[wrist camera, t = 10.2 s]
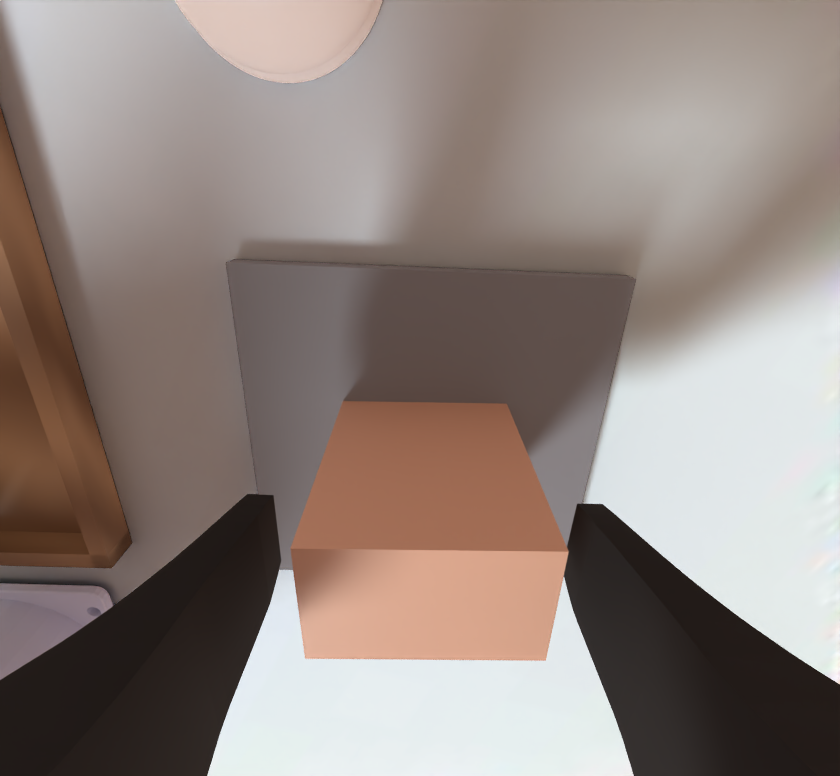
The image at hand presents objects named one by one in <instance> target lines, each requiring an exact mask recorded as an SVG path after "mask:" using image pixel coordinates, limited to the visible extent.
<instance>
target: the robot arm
mask: <svg viewBox="0 0 840 776" xmlns="http://www.w3.org/2000/svg"><path fill="white" fill-rule="evenodd" d="M567 549H568V551H569V553H568V557H567V562H566V567H565V571H564V577H565V581H566V585H567V590H568V593H569V597H570V601H571V604H572V608H573V611H574V614H575V616H576V619H577V622H578V624H579V627H580V629H581V632H582V635H583V637H584V640H585V642H586V645H587V647H588V650H589V652H590V655H591V657H592V660H593V662H594V665H595V667H596V670H597V673H598V675H599V678H600V680H601V683H602V685H603V688H604V690H605V693H606V695H607V698H608V700H609V703H610V705H611V708H612V710H613V713H614V716H615V718H616V721H617V724H618V727H619V730H620V732H621V735H622V738H623V741H624V744H625V748H626V751H627V754H628V758H629V761H630V764H631V768H632V771H633V774H634V776H840V684H838V683H836V682H835V681H833V680H832V679H830V678H828V677H827V676H825V675H823V674H822V673H820V672H819V671H817V670H816V669H814V668H812V667H811V666H809V665H808V664H806V663H805V662H803V661H802V660H800V659H799V658H797V657H796V656H794V655H793V654H791V653H790V652H788V651H787V650H785V649H784V648H782V647H781V646H779V645H778V644H777V643H775V642H774V641H772V640H771V639H769V638H768V637H766V636H765V635H764V634H762V633H761V632H759V631H758V630H756V629H755V628H753V627H752V626H751V625H749V624H748V623H747V622H745V621H744V620H742V619H741V618H740V617H738V616H737V615H736V614H734V613H733V612H732V611H730V610H729V609H728V608H726V607H725V606H724V605H723V604H721V603H720V602H719V601H717V600H716V599H715V598H713V597H712V596H711V595H710V594H708V593H707V592H706V591H704V590H703V589H702V588H701V587H699V586H698V585H697V584H696V583H694V582H693V581H692V580H691V579H689V578H688V577H687V576H686V575H685V574H683V573H682V572H681V571H680V570H679V569H677V568H676V567H675V566H674V565H673V564H671V563H670V562H669V561H668V560H667V559H666V558H664V557H663V556H662V555H661V554H660V553H659V552H657V551H656V550H655V549H654V548H653V547H652V546H650V545H649V544H648V543H647V542H646V541H645V540H644V539H642V538H641V537H640V536H639V535H638V534H637V533H636V532H634V531H633V530H632V529H631V528H630V527H629V526H628V525H626V524H625V523H624V522H623V521H622V520H621V519H620V518H618V517H617V516H616V515H615V514H614V513H612V512H611V511H610V510H609V509H608V508H606V507H605V506H604V505H603V504H577V506H576V510H575V515H574V519H573V523H572V527H571V532H570V536H569V540H568V544H567ZM280 564H281V553H280V545H279V537H278V528H277V520H276V512H275V503H274V495H258V494H247V495H246V496H245V497H244V498H243V499H241V500H240V501H239V502H238V503H237V504H236V505H235V506H233V507H232V508H231V509H230V510H229V511H228V512H227V513H226V514H224V515H223V516H222V517H221V518H220V519H219V520H218V521H217V522H215V523H214V524H213V525H212V526H211V527H210V528H209V529H208V530H206V531H205V532H204V533H203V534H202V535H201V536H200V537H199V538H197V539H196V540H195V541H194V542H193V543H192V544H190V545H189V546H188V547H187V548H186V549H185V550H183V551H182V552H181V553H180V554H179V555H178V556H176V557H175V558H174V559H173V560H172V561H171V562H169V563H168V564H167V565H166V566H164V567H163V568H162V569H161V570H159V571H158V572H157V573H156V574H154V575H153V576H152V577H150V578H149V579H148V580H147V581H145V582H144V583H143V584H142V585H140V586H139V587H138V588H137V589H135V590H134V591H133V592H132V593H130V594H129V595H128V596H126V597H125V598H124V599H122V600H121V601H120V602H118V603H117V604H115V605H114V606H113V604H112V601H111V598H110V595H109V593H108V592H107V591H106V590H105V589H104V588H101V587H99V586H83V585H44V584H4V583H0V776H207V774H208V771H209V767H210V764H211V761H212V758H213V754H214V751H215V748H216V744H217V741H218V738H219V734H220V731H221V729H222V726H223V723H224V720H225V717H226V715H227V712H228V709H229V706H230V704H231V701H232V699H233V696H234V694H235V691H236V689H237V686H238V683H239V681H240V678H241V676H242V673H243V671H244V668H245V666H246V663H247V661H248V658H249V656H250V653H251V651H252V648H253V646H254V643H255V641H256V638H257V636H258V633H259V630H260V628H261V625H262V623H263V620H264V618H265V615H266V612H267V610H268V607H269V605H270V601H271V598H272V594H273V591H274V587H275V583H276V580H277V576H278V572H279V568H280Z"/></svg>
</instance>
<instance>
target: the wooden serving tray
mask: <svg viewBox="0 0 840 776" xmlns="http://www.w3.org/2000/svg"><path fill="white" fill-rule="evenodd" d="M131 544H132V541H131V537H130V534H129V531H128V527H127V524H126V521H125V518H124V514H123V511H122V508H121V504H120V501H119V498H118V494H117V491H116V488H115V484H114V481H113V478H112V475H111V471H110V468H109V465H108V461H107V458H106V455H105V451H104V448H103V445H102V441H101V438H100V435H99V432H98V428H97V425H96V422H95V418H94V415H93V412H92V408H91V405H90V402H89V398H88V395H87V392H86V389H85V385H84V382H83V379H82V375H81V372H80V369H79V365H78V362H77V359H76V356H75V352H74V349H73V346H72V342H71V339H70V336H69V332H68V329H67V326H66V322H65V319H64V316H63V313H62V309H61V306H60V303H59V299H58V296H57V293H56V289H55V286H54V283H53V279H52V276H51V273H50V270H49V266H48V263H47V260H46V256H45V253H44V250H43V246H42V243H41V240H40V236H39V233H38V230H37V227H36V223H35V220H34V217H33V213H32V210H31V207H30V203H29V200H28V197H27V193H26V190H25V187H24V184H23V180H22V177H21V174H20V170H19V167H18V164H17V160H16V157H15V154H14V150H13V147H12V144H11V141H10V137H9V134H8V131H7V127H6V124H5V121H4V117H3V114H2V111H1V108H0V565H6V566H44V567H83V568H112V567H113V566H114V565H115V564H116V562H117V561H118V560H119V559H120V557H121V556H122V555H123V554H124V552H125V551H126V550H127V549H128V548H129V546H130V545H131Z"/></svg>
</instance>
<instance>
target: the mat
mask: <svg viewBox="0 0 840 776" xmlns="http://www.w3.org/2000/svg"><path fill="white" fill-rule="evenodd" d="M226 267H227V274H228V281H229V289H230V296H231V303H232V310H233V318H234V325H235V332H236V339H237V346H238V354H239V361H240V368H241V375H242V382H243V390H244V397H245V404H246V411H247V419H248V426H249V433H250V440H251V447H252V455H253V462H254V469H255V476H256V484H257V491H258V495H274V503H275V512H276V520H277V528H278V537H279V545H280V553H281V564H280V568H279V569H280V570H293V565H292V558H291V550H290V548H291V545H292V542H293V540H294V537H295V534H296V531H297V528H298V526H299V523H300V520H301V517H302V514H303V511H304V509H305V506H306V503H307V500H308V497H309V495H310V492H311V489H312V486H313V483H314V481H315V478H316V475H317V472H318V469H319V467H320V464H321V461H322V458H323V455H324V453H325V450H326V447H327V444H328V441H329V438H330V436H331V433H332V430H333V427H334V424H335V422H336V419H337V416H338V413H339V410H340V408H341V405H342V402H343V401H369V402H434V403H499V404H507V405H508V408H509V410H510V413H511V415H512V417H513V420H514V422H515V425H516V427H517V429H518V432H519V434H520V437H521V439H522V441H523V444H524V446H525V448H526V451H527V453H528V456H529V458H530V460H531V463H532V465H533V468H534V470H535V472H536V475H537V477H538V480H539V482H540V484H541V487H542V489H543V492H544V494H545V496H546V499H547V501H548V503H549V506H550V508H551V511H552V513H553V515H554V518H555V520H556V523H557V525H558V527H559V530H560V532H561V535H562V537H563V539H564V542H565V544H566V547H567V544H568V540H569V536H570V532H571V527H572V523H573V519H574V515H575V510H576V506H577V504H582V501H583V497H584V492H585V488H586V484H587V480H588V476H589V472H590V468H591V464H592V459H593V455H594V451H595V447H596V443H597V439H598V435H599V430H600V426H601V422H602V418H603V414H604V410H605V406H606V401H607V397H608V393H609V389H610V385H611V381H612V377H613V372H614V368H615V364H616V360H617V356H618V352H619V348H620V343H621V339H622V335H623V331H624V327H625V323H626V319H627V314H628V310H629V306H630V302H631V298H632V294H633V290H634V286H635V281H636V279H634V278H632V277H629V276H627V275H606V274H581V273H557V272H532V271H508V270H484V269H459V268H435V267H411V266H386V265H362V264H338V263H313V262H289V261H265V260H240V259H234V260H231V261H229V262H226ZM563 577H564V576H563Z"/></svg>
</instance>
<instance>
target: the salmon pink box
mask: <svg viewBox="0 0 840 776" xmlns="http://www.w3.org/2000/svg"><path fill="white" fill-rule="evenodd" d="M290 550H291V558H292V565H293V572H294V580H295V587H296V594H297V602H298V609H299V617H300V624H301V631H302V639H303V646H304V653H305V659H423V660H546V657H547V652H548V647H549V642H550V638H551V633H552V628H553V623H554V619H555V614H556V609H557V605H558V600H559V595H560V590H561V586H562V581H563V576H564V571H565V567H566V562H567V557H568V553H569V551H568V549H567V547H566V544H565V542H564V539H563V537H562V535H561V532H560V530H559V527H558V525H557V523H556V520H555V518H554V515H553V513H552V511H551V508H550V506H549V503H548V501H547V499H546V496H545V494H544V492H543V489H542V487H541V484H540V482H539V480H538V477H537V475H536V472H535V470H534V468H533V465H532V463H531V460H530V458H529V456H528V453H527V451H526V448H525V446H524V444H523V441H522V439H521V437H520V434H519V432H518V429H517V427H516V425H515V422H514V420H513V417H512V415H511V413H510V410H509V408H508V405H507V404H499V403H434V402H369V401H343V402H342V405H341V408H340V410H339V413H338V416H337V419H336V422H335V424H334V427H333V430H332V433H331V436H330V438H329V441H328V444H327V447H326V450H325V453H324V455H323V458H322V461H321V464H320V467H319V469H318V472H317V475H316V478H315V481H314V483H313V486H312V489H311V492H310V495H309V497H308V500H307V503H306V506H305V509H304V511H303V514H302V517H301V520H300V523H299V526H298V528H297V531H296V534H295V537H294V540H293V542H292V545H291V548H290Z"/></svg>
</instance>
